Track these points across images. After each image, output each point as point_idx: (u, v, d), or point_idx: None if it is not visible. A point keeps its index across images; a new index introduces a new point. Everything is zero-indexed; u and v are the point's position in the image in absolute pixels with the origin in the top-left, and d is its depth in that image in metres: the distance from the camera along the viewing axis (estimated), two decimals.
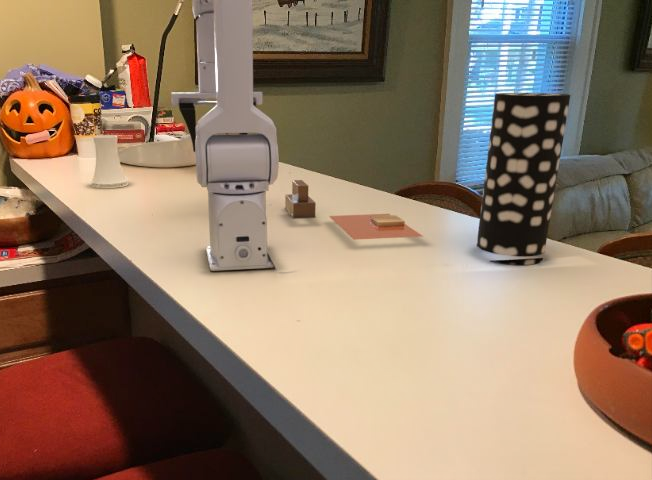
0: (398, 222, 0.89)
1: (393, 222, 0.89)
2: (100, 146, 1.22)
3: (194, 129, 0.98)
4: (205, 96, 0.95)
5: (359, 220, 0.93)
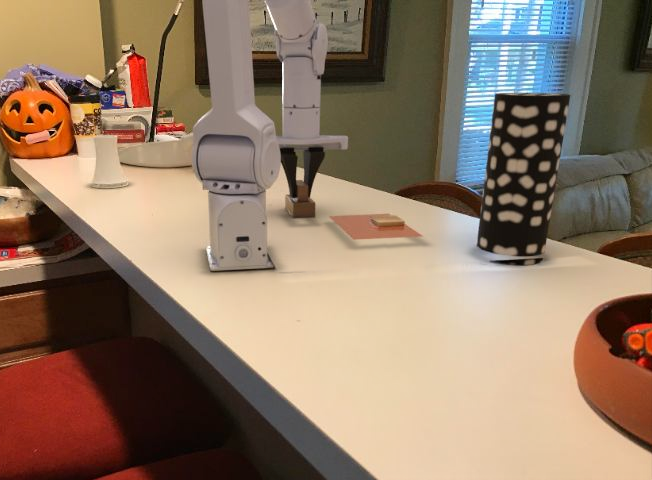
0: (398, 222, 0.89)
1: (393, 222, 0.89)
2: (100, 146, 1.22)
3: (294, 175, 0.94)
4: (291, 142, 0.91)
5: (359, 220, 0.93)
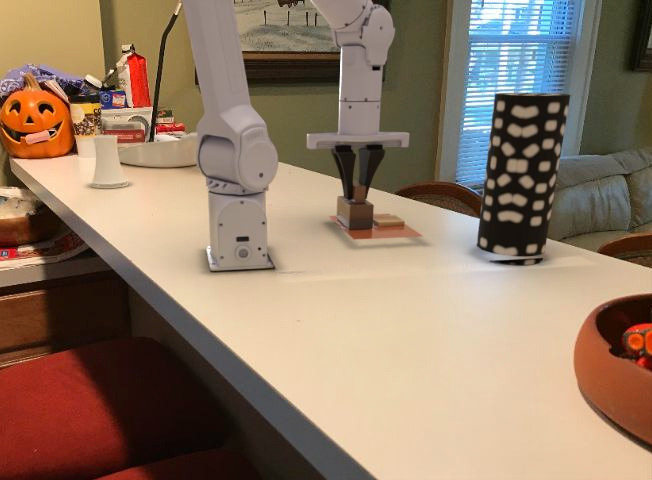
0: (398, 222, 0.89)
1: (393, 222, 0.89)
2: (100, 146, 1.22)
3: (351, 175, 0.86)
4: (349, 139, 0.83)
5: None
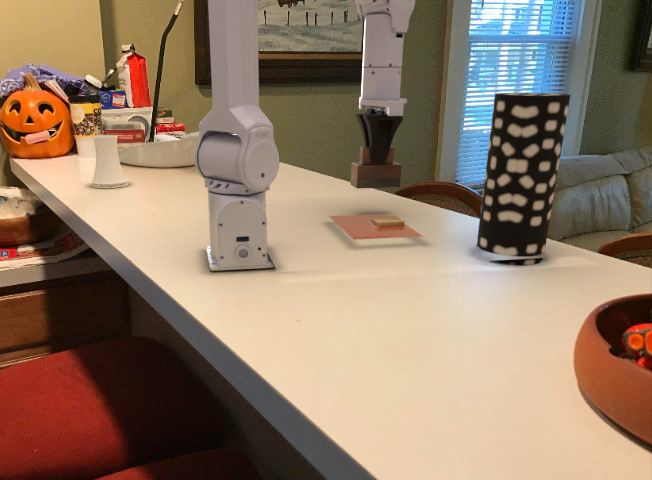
0: (398, 222, 0.89)
1: (393, 222, 0.89)
2: (100, 146, 1.22)
3: (364, 136, 0.94)
4: None
5: (359, 220, 0.93)
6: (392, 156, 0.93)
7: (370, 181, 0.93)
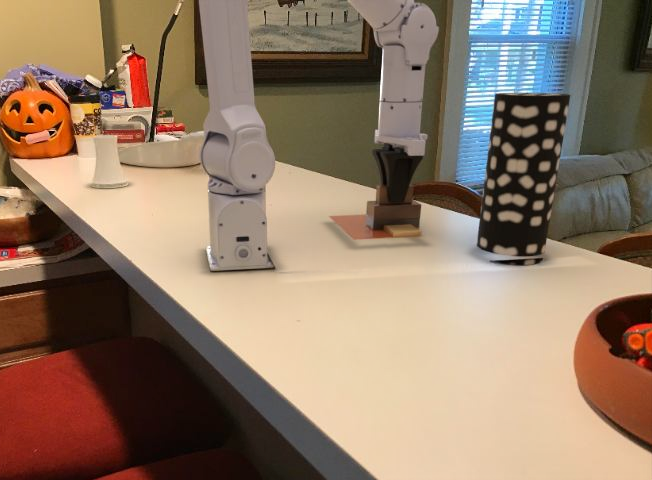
0: (414, 232, 0.84)
1: (409, 232, 0.84)
2: (100, 146, 1.22)
3: (381, 173, 0.87)
4: None
5: (359, 220, 0.93)
6: (411, 195, 0.87)
7: (388, 222, 0.87)
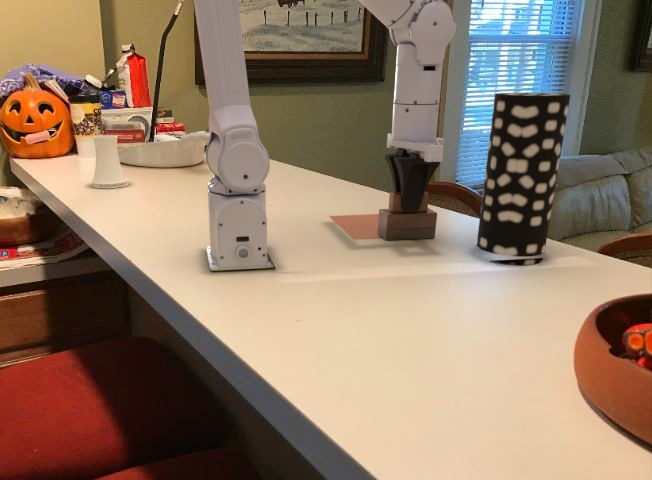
0: None
1: None
2: (100, 146, 1.22)
3: (394, 180, 0.82)
4: None
5: (359, 220, 0.93)
6: (426, 203, 0.82)
7: (401, 232, 0.82)
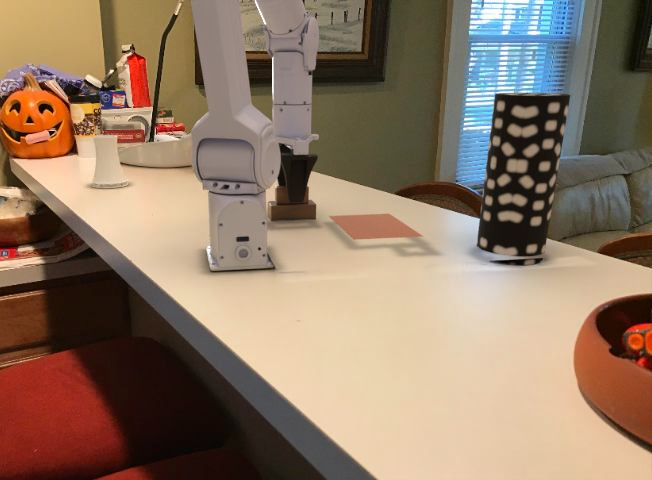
0: None
1: None
2: (100, 146, 1.22)
3: None
4: None
5: (359, 220, 0.93)
6: (307, 196, 0.93)
7: None
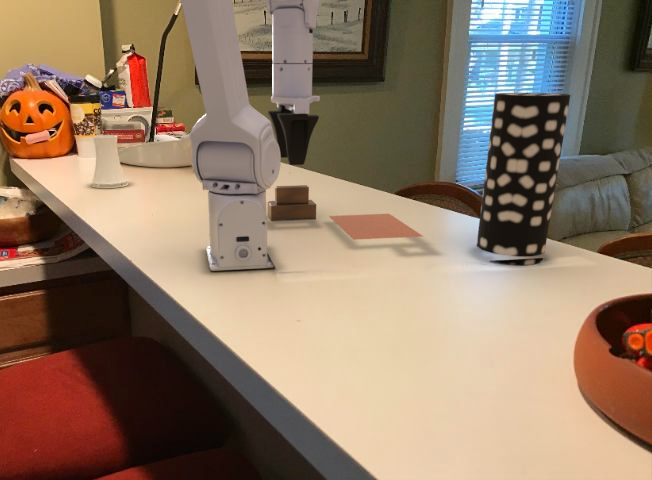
0: None
1: None
2: (100, 146, 1.22)
3: (276, 133, 0.94)
4: None
5: (359, 220, 0.93)
6: (307, 196, 0.93)
7: None
